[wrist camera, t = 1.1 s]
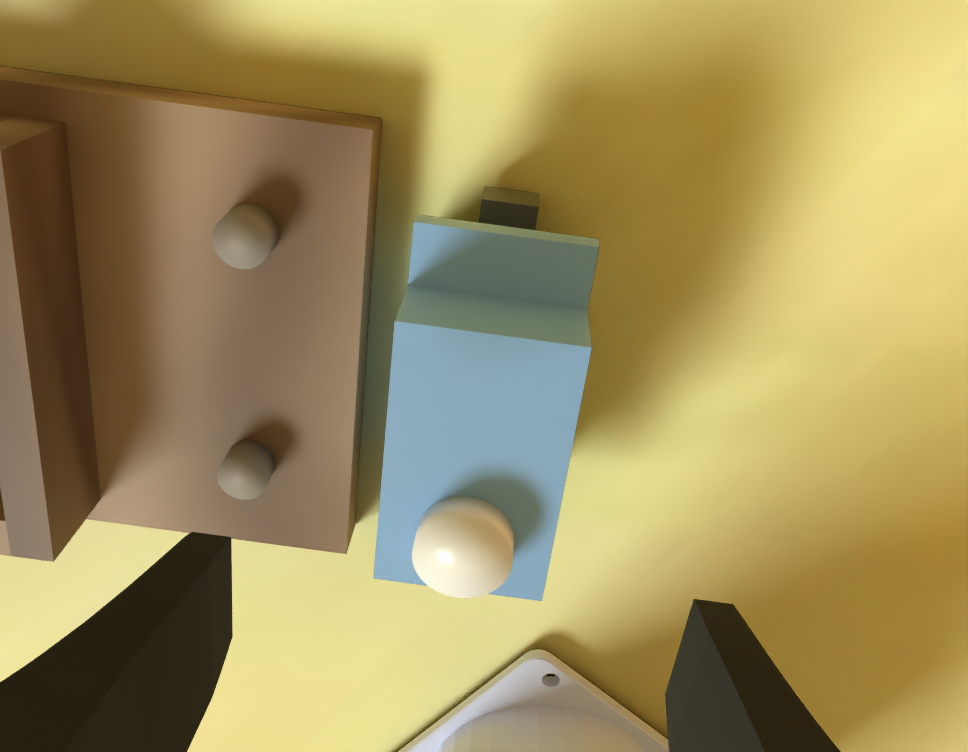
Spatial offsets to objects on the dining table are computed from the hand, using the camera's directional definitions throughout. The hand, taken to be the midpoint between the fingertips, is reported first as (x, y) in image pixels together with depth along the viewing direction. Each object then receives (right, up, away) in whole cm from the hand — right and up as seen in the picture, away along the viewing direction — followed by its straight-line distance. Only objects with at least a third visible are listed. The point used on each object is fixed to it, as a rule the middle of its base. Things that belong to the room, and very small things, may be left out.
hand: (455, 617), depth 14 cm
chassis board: (-10, +6, +8) cm, 14 cm away
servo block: (+1, +4, +8) cm, 9 cm away
